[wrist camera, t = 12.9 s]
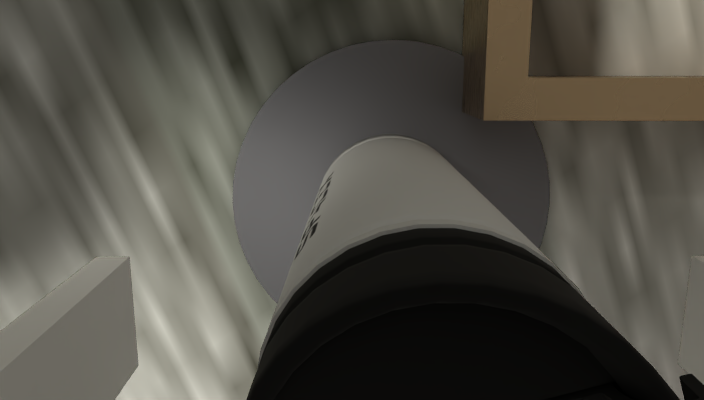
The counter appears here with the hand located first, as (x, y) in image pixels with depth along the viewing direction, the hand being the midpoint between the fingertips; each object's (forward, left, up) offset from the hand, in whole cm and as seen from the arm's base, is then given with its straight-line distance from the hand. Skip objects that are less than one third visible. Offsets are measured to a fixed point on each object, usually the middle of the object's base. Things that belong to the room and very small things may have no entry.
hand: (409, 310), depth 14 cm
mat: (0, 0, -13) cm, 14 cm away
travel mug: (0, 0, -13) cm, 13 cm away
